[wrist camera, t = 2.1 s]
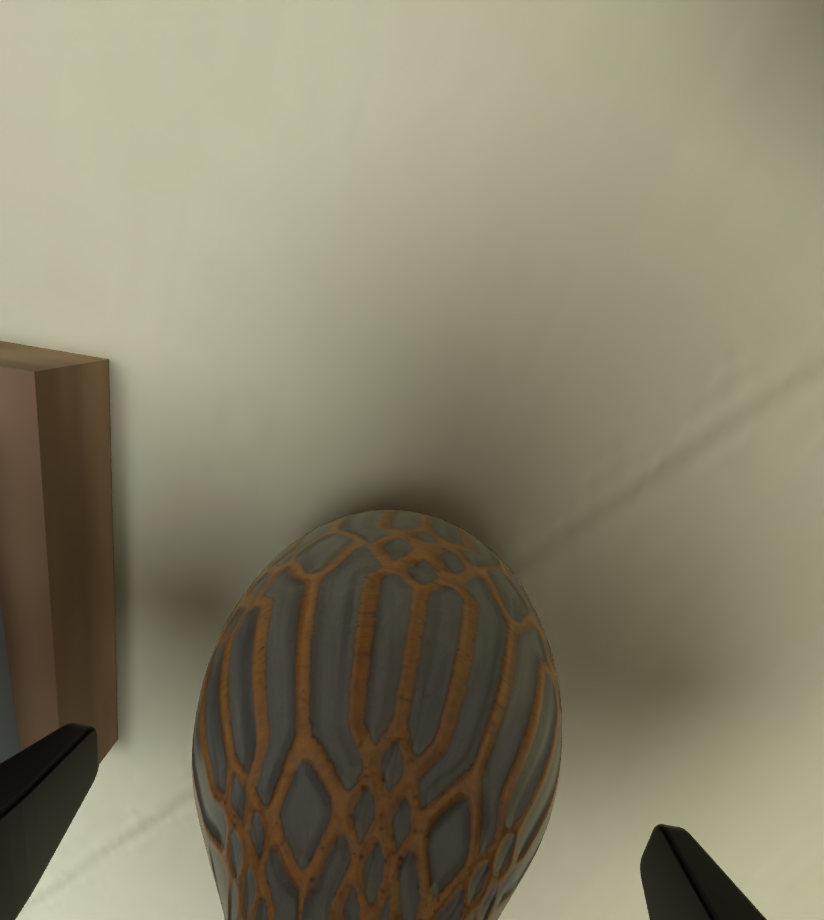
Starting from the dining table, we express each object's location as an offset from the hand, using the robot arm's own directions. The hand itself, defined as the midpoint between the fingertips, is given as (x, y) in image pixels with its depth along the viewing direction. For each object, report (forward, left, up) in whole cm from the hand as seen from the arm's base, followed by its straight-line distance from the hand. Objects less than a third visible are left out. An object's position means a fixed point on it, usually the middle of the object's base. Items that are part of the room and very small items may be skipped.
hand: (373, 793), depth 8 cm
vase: (0, 0, -6) cm, 6 cm away
